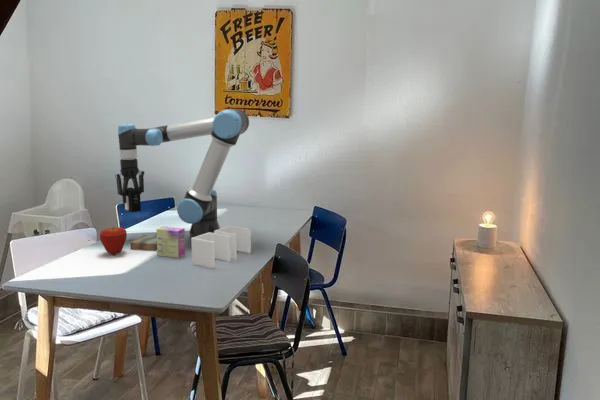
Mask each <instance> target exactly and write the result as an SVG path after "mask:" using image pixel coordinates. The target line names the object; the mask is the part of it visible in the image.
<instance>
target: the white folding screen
mask: <svg viewBox="0 0 600 400" xmlns="http://www.w3.org/2000/svg"><path fill="white" fill-rule="evenodd" d="M251 232H252V231H251V228H249V227H248V228H247V227H242V226H237V225H235V226H234V225H227V226H224V227H221V228H220V229H218V230H215V231H214V233H210V232H209V233H206V234H203V235H199V236H196V237H193V238H190V241H191V263H192V264H193V265H195V266H196V265H197V266H201V267H206V268H210V269H215V268H216V260H221V261H226V262H227V263H229V262H231V260H237V254H238V253H237V252H242V253H248V254H252V253H251V252H252V245H251V244H252V243H251V242H252V239H251V237H252V236H251Z"/></svg>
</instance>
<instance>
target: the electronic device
mask: <svg viewBox="0 0 600 400" xmlns="http://www.w3.org/2000/svg"><path fill="white" fill-rule="evenodd" d="M126 196H128V202H129V210H125V203H123V202H122V203H123V205H122V206H123V210H124V211H127V212H130V213H137V212H141V211H142V207H141V194H140V191H139V190H138V189H135V188H134V187H127V195H126Z"/></svg>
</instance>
